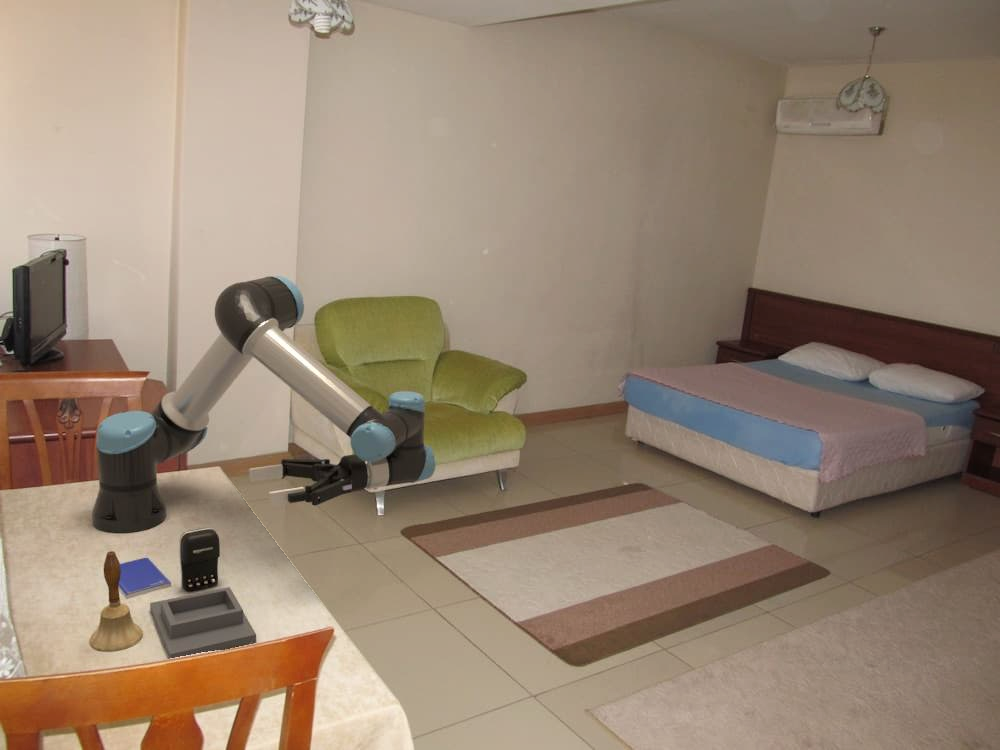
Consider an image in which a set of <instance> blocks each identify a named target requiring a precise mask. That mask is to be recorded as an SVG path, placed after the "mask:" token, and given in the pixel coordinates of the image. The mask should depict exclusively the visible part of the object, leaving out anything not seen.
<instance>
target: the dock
mask: <svg viewBox="0 0 1000 750" xmlns="http://www.w3.org/2000/svg"><path fill="white" fill-rule="evenodd" d="M149 607H150V608H149V610H150V613H151V616H152V618H153V621H154V624H155V626H156V628H157V631H158V633H159V635H160V638H161V642H162V643H163V646H164V649H165V651H166V654H167V656H168V659H169V658H175V657H180V656H186V655H191V654H196V653H201V652H208V651H215V650H221V651H223V650H222V649H225V650H229V649H232V647H234V648H237V646H238V647H242V646H245V645H251V644H254V643H257V633H256V631H255V629H254V628H253V627H252V625H251V623H250V621H249V620H248V618H247V616H246V614H245V613H244V609H243V607H242V606H241V604H240V602H239V601H238V599H237V597H236V596H235V594H234V592H233V591H232V589H231V587H230V586H228V587H223V588H218V589H213V590H208V591H202V592H199V593H193V594H188V595H183V596H177V597H174V598H168V599H167V598H166V599H163V600H158V601H153V602H152V601H151V602H150V603H149ZM251 642H252V643H251ZM241 645H242V646H241ZM228 648H229V649H228Z"/></svg>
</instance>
